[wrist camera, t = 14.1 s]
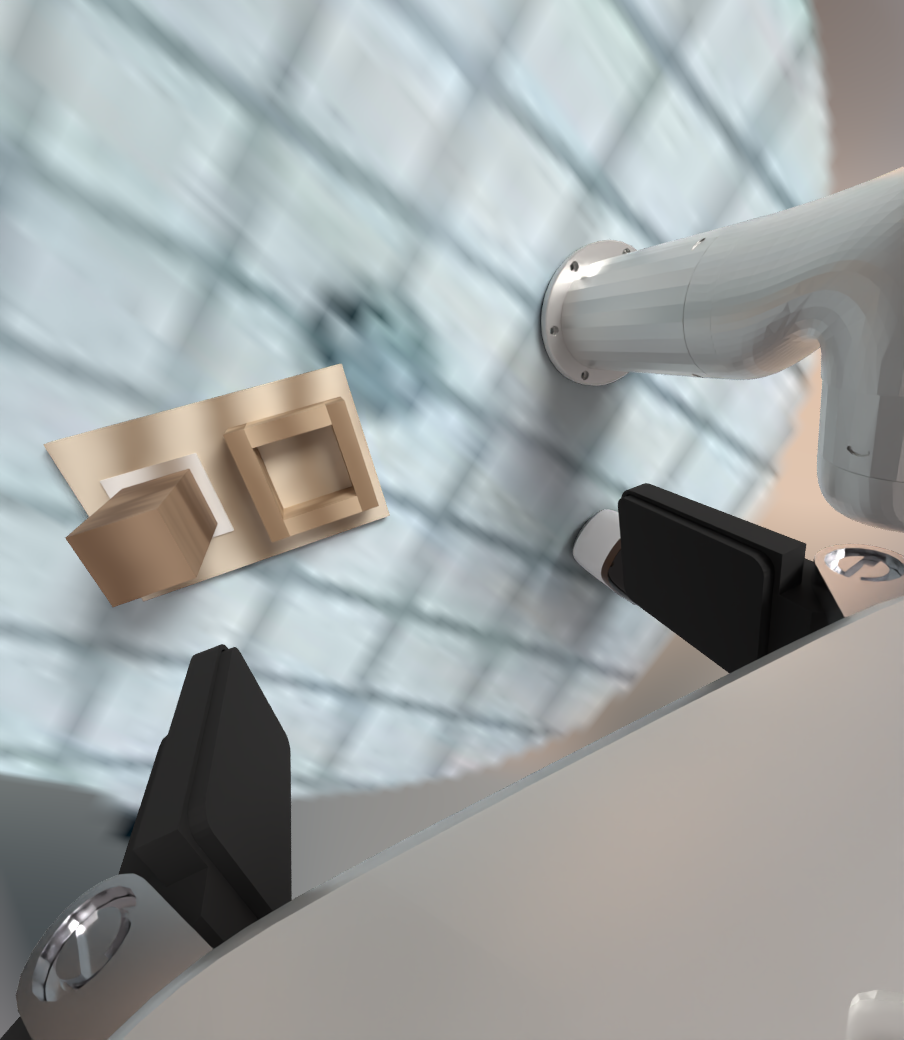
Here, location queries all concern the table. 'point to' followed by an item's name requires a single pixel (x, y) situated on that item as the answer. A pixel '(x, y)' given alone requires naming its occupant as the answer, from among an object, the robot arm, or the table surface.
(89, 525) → the walnut block
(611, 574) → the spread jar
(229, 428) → the pocket board
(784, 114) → the table surface
